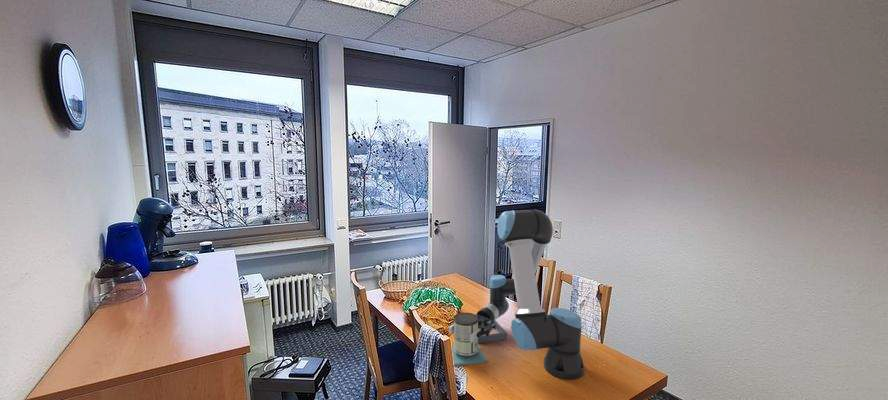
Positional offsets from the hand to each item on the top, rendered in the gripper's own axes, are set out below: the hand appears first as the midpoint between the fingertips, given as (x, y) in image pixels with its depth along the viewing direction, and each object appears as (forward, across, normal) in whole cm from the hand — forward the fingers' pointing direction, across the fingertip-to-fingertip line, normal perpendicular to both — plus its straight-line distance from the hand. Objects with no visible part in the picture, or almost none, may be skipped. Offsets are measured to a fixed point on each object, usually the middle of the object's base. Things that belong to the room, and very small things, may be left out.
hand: (460, 334), depth 146 cm
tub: (-25, +2, -11) cm, 28 cm away
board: (-4, 0, -11) cm, 12 cm away
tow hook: (-31, +27, -11) cm, 43 cm away
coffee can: (-4, 0, -9) cm, 10 cm away
